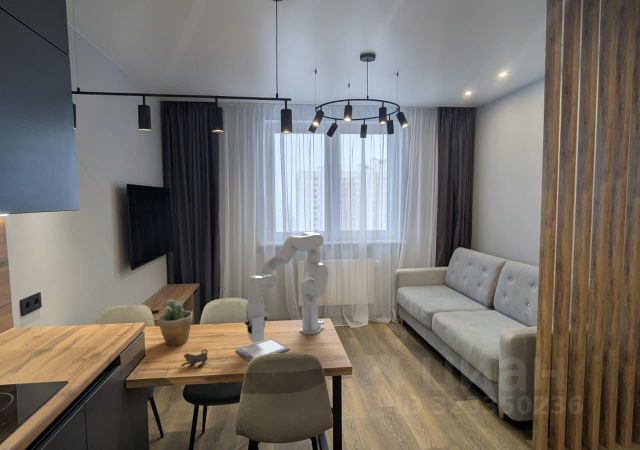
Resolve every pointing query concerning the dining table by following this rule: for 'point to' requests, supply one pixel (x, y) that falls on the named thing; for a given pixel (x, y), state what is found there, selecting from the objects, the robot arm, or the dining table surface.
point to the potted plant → (175, 323)
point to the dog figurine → (195, 358)
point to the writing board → (261, 349)
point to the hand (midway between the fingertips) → (256, 330)
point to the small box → (257, 329)
